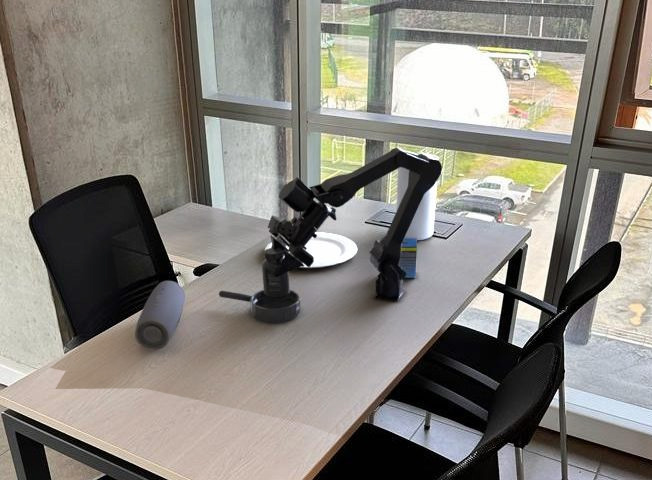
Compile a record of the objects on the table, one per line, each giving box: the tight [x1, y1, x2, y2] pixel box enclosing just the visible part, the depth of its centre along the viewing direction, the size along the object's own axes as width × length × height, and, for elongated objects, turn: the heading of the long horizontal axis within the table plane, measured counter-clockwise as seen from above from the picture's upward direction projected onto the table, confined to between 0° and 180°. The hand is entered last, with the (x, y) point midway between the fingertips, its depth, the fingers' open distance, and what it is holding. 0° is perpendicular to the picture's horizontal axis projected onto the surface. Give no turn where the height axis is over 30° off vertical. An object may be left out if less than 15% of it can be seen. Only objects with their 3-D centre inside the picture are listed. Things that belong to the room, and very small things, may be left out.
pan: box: [249, 289, 301, 324], centre depth 191 cm, size 13×13×4 cm
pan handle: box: [218, 290, 254, 303], centre depth 195 cm, size 11×2×2 cm, turn 67°
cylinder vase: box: [395, 152, 440, 241], centre depth 232 cm, size 12×12×25 cm
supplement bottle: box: [261, 248, 291, 299], centre depth 185 cm, size 7×7×12 cm
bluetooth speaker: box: [134, 280, 186, 351], centre depth 182 cm, size 23×9×10 cm, turn 178°
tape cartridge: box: [399, 238, 418, 279], centre depth 207 cm, size 9×4×12 cm, turn 84°
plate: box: [264, 231, 358, 269], centre depth 226 cm, size 29×29×2 cm
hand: (270, 271), depth 184 cm, fingers closed on supplement bottle, 7 cm apart
